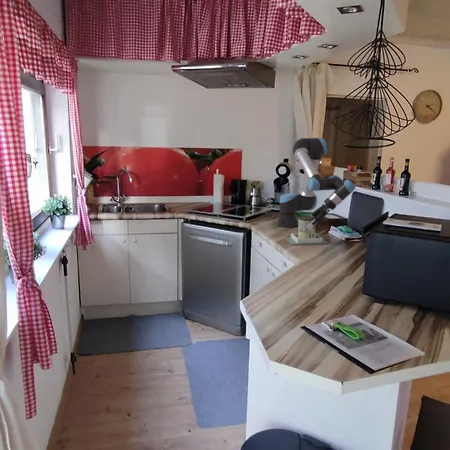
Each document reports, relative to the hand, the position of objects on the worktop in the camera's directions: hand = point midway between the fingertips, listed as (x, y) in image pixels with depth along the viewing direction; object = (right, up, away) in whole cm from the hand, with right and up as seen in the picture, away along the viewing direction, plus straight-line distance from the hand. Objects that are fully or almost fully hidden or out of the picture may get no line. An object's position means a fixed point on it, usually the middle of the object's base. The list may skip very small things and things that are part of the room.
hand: (306, 225), depth 248 cm
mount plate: (0, -10, +2) cm, 10 cm away
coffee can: (0, -9, +2) cm, 9 cm away
